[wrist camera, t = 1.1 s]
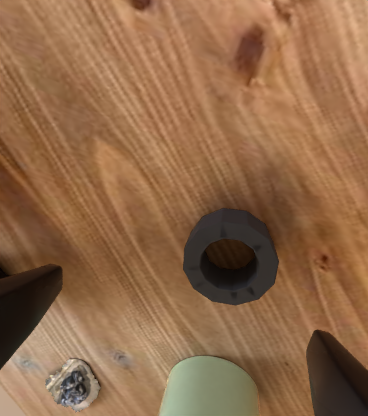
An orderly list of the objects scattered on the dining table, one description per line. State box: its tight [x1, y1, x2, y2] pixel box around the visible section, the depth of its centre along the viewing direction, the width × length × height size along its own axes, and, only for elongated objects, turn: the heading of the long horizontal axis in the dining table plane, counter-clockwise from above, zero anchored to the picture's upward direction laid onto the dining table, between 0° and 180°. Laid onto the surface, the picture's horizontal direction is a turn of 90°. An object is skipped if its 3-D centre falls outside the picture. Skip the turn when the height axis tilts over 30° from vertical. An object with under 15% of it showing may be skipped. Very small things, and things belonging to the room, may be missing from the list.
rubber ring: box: [183, 208, 279, 305], centre depth 21 cm, size 7×7×3 cm
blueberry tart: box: [45, 359, 101, 412], centre depth 30 cm, size 7×8×2 cm
